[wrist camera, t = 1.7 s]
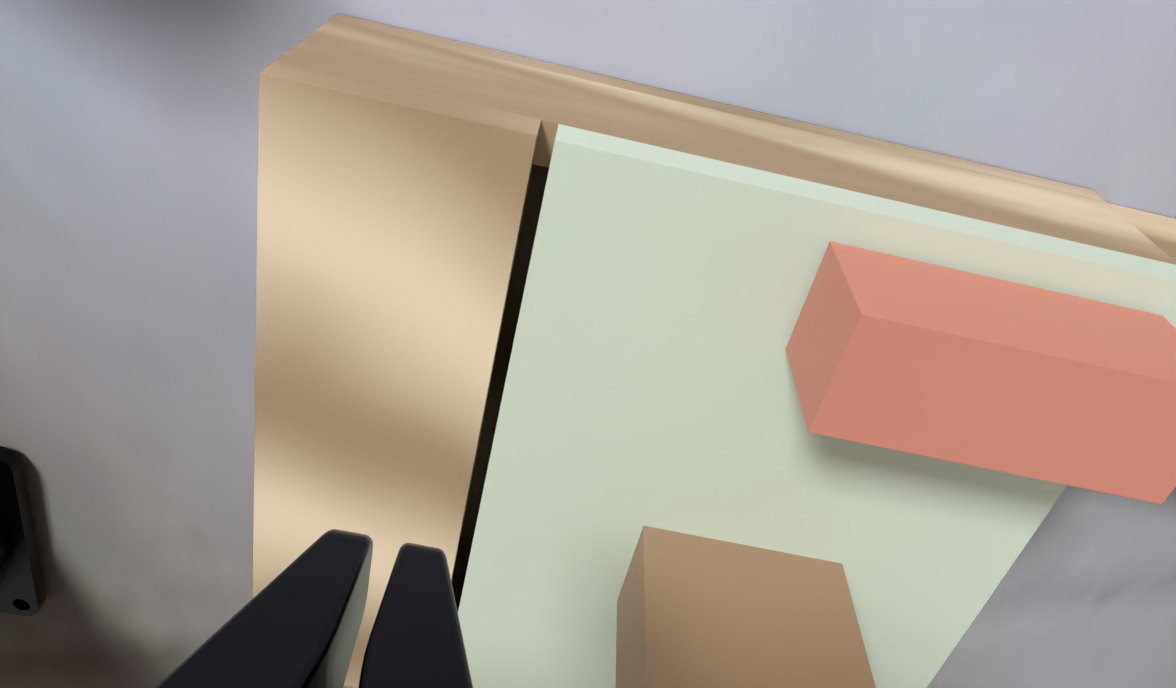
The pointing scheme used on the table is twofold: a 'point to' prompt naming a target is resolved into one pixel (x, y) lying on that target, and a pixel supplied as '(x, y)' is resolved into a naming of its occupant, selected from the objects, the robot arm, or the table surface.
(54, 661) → the table surface
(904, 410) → the block
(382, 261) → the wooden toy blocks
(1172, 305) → the lid
